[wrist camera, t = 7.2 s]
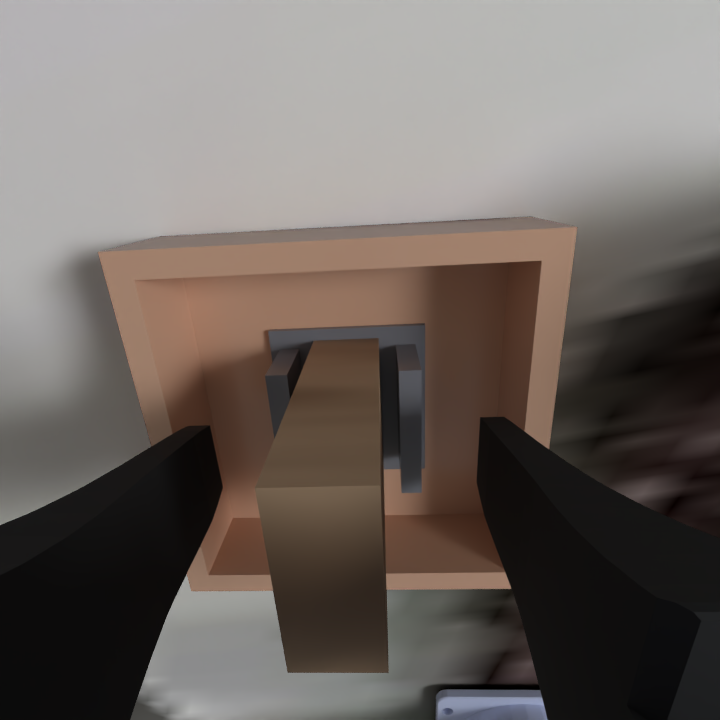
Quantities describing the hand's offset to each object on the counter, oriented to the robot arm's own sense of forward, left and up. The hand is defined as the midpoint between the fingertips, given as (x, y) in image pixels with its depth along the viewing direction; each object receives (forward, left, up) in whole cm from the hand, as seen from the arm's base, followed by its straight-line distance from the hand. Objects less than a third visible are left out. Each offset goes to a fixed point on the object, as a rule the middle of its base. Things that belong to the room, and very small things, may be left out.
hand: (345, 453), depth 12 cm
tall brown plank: (0, 0, -3) cm, 3 cm away
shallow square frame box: (0, 0, -4) cm, 4 cm away
